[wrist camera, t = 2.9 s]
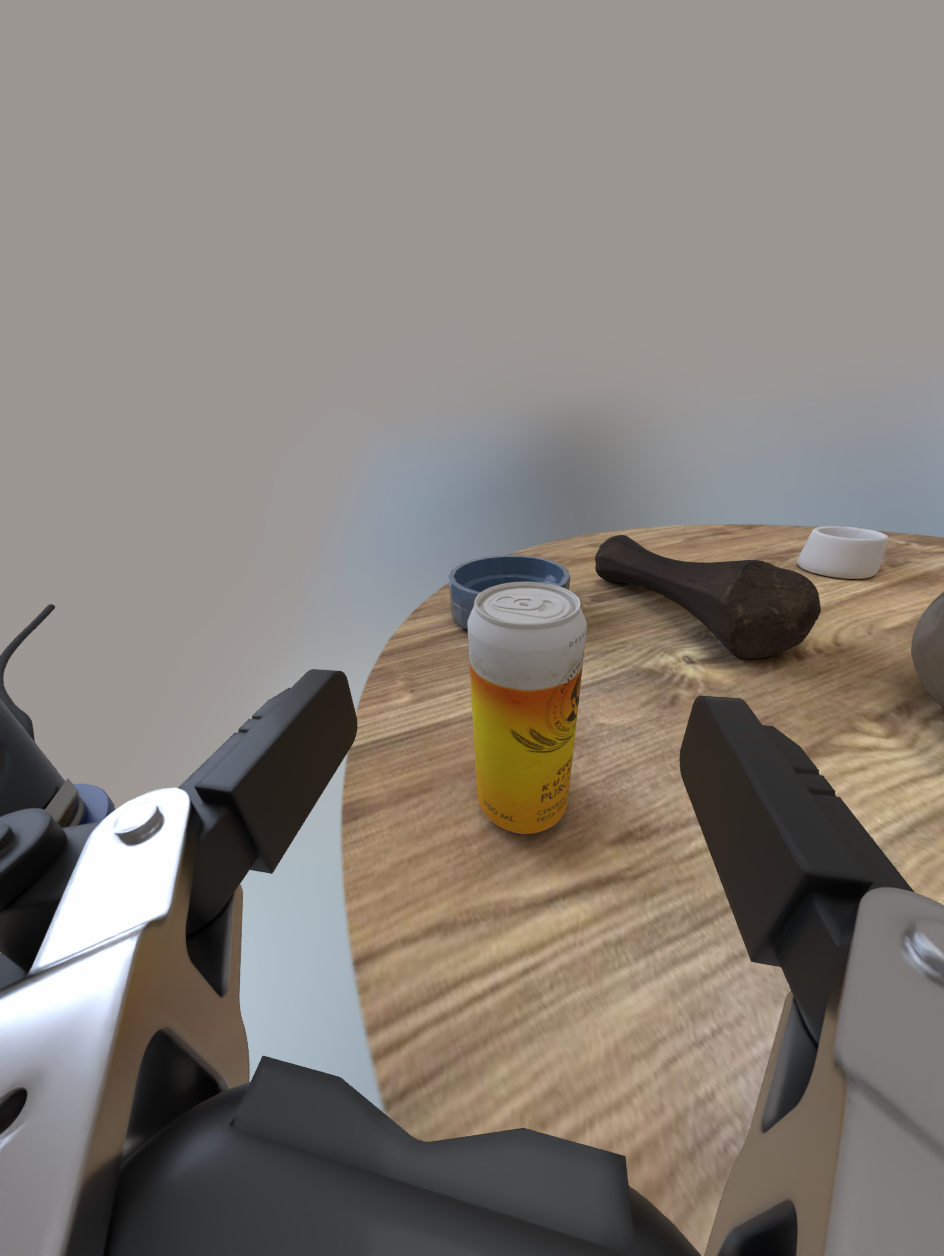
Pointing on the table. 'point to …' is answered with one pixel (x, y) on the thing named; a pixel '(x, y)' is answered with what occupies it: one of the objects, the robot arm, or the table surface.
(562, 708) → the beer can
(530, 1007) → the table surface
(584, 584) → the table surface
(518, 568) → the blue bowl
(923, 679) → the bowl
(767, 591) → the dark brown pestle
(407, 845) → the table surface
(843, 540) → the white tapered round piece
